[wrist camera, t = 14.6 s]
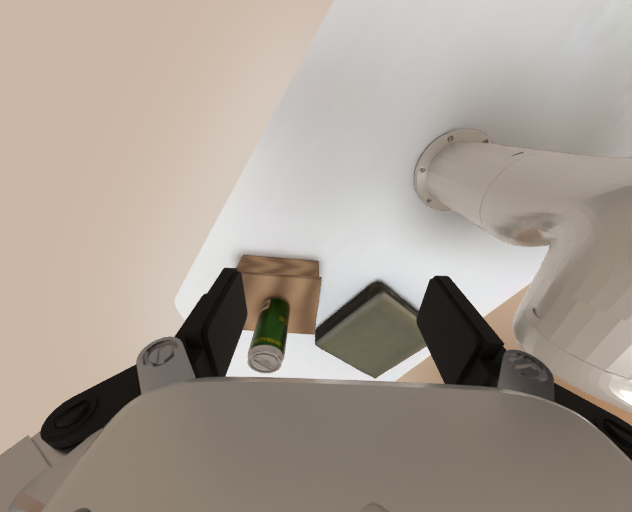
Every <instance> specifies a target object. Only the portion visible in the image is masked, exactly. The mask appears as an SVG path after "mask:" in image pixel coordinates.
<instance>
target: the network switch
mask: <svg viewBox="0 0 632 512" xmlns="http://www.w3.org/2000/svg"><path fill="white" fill-rule="evenodd" d="M418 313H419V312H417V311H416V310H415V309H414V308H412V307H411V306H410V305H409V304H407V303H406V302H405V301H404V300H402V299H401V298H400V297H399V296H397V295H396V294H395V293H393V292H392V291H391V290H390V289H389V288H388V287H387V286H385V285H383V284H382V283H380V284H373V285H372V286H371V287H370V288H368V289H366V290H365V291H364V292H363V293H361V294H360V295H359V296H358V297H356V298H355V299H354V300H353V301H352V302H350V303H349V304H348V305H347V306H346V307H344V308H343V309H342V310H340V311H339V312H338V313H337V314H335V315H334V316H333V317H332V318H330V319H329V320H328V321H326V322H325V323H324V324H322V325H321V326H320V327H319V328H318V329H317V330H316V331H315V345H316V346H318V347H319V348H321V349H322V350H324V351H326V352H328V353H330V354H332V355H333V356H335V357H337V358H339V359H341V360H342V361H344V362H345V363H347V364H349V365H351V366H353V367H355V368H356V369H358V370H360V371H362V372H364V373H365V374H368V375H370V376H372V377H373V378H377V377H378V376H380V375H381V374H383V373H384V372H386V371H388V370H389V369H391V368H392V367H394V366H396V365H397V364H399V363H401V362H402V361H404V360H405V359H407V358H409V357H410V356H412V355H413V354H415V353H417V352H418V351H420V350H421V349H423V348H424V347H426V346H427V345H426V343H425V341H424V339H423V336H422V334H421V332H420V330H419V328H418V326H417V322H416V319H417V315H418Z"/></svg>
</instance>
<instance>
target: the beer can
mask: <svg viewBox="0 0 632 512" xmlns="http://www.w3.org/2000/svg"><path fill="white" fill-rule="evenodd" d="M289 315H290V306H289V304H288V302H287V301H286V300H285V299H283V298H281V297H277V296H275V297H270V298H268V299H267V300H265V301H264V302H263V304H262V306H261V310H260V313H259V317H258V320H257V324H256V327H255V331H254V334H253V338H252V341H251V344H250V348H249V351H248V365H249V366H250V368H251V369H253V370H255V371H257V372H260V373H272V372H275V371H277V370H279V368H280V367H281V364H282V362H283V360H284V354H285V346H286V338H287V330H288V323H289Z"/></svg>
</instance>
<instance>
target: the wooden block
mask: <svg viewBox="0 0 632 512" xmlns="http://www.w3.org/2000/svg"><path fill="white" fill-rule="evenodd" d="M236 269H237V270H238V271H240V272H241V274H242V280H243V286H244V292H245V299H246V305H247V312H248V315H247V320H246V322H245V325H244V328H243V330H251V331H255V327H256V324H257V320H258V317H259V313H260V310H261V306H262V304H263V302H264V301H265V300H267V299H268V298H270V297H275V296H277V297H281V298H283V299H285V300H286V301H287V302H288V304H289V306H290V315H289V323H288V330H287V333H299V334H314V332H315V325H316V317H317V310H318V302H319V295H320V287H321V277H319V263H318V261H311V260H299V259H286V258H274V257H261V256H248V255H243V256H242V258H241V260H240V262H239V264H238V266H237V267H236Z"/></svg>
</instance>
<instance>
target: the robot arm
mask: <svg viewBox="0 0 632 512" xmlns="http://www.w3.org/2000/svg"><path fill="white" fill-rule="evenodd" d="M448 137H449V139H448ZM482 142H483V143H482ZM421 168H422V170H420V169H421ZM414 186H415V191H416V193H417V195H418V197H419V198H420V200H421V201H422V202H423V203H425V204H426V205H427V206H429V207H431V208H433V209H437V210H453V211H455V212H456V213H458V214H460V215H461V216H463V217H464V218H466V219H467V220H469V221H470V222H472V223H474V224H475V225H477V226H478V227H480V228H481V229H483V230H484V231H486V232H488V233H489V234H491V235H493V236H494V237H496V238H497V239H499V240H501V241H503V242H506V243H508V244H511V245H516V246H523V247H535V246H546V245H550V247H549V250H548V252H547V254H546V256H545V258H544V260H543V262H542V264H541V267H540V269H539V271H538V273H537V274H536V276H535V278H534V280H533V281H532V283H531V285H530V287H529V288H528V290H527V292H526V294H525V296H524V297H523V299H522V301H521V303H520V305H519V307H518V309H517V311H516V313H515V316H514V319H513V326H512V328H513V334H514V337H515V339H516V341H517V343H518V345H519V346H520V347H521V349H522V350H523V351H524V352H523V351H519V350H507V351H506V349H505V348H504V347H503V345H504V343H503V342H502V340H501V339H500V338H499V337H498V335H497V334H496V333H495V332H494V331H493V329H492V328H491V327H490V326H489V325H488V323H487V322H486V321H485V320H484V319H483V317H482V316H481V315H480V314H479V312H478V311H477V310H476V309H475V308H474V306H473V305H472V304H471V303H470V302H469V300H468V299H467V298H466V297H465V295H464V294H463V293H462V292H461V291H460V289H459V288H458V287H457V286H456V285H455V283H454V282H453V281H452V280H451V279H450V277H448V276H435V277H434V278H433V279H430V281H429V284H428V287H427V290H426V292H425V295H424V298H423V301H422V304H421V307H420V310H419V313H418V315H417V319H416V322H417V326H418V328H419V330H420V332H421V334H422V336H423V339H424V341H425V343H426V345H427V347H428V349H429V351H430V353H431V356H432V358H433V360H434V362H435V364H436V366H437V368H438V370H439V372H440V374H441V377H442V379H443V381H444V383H445V384H433V383H408V382H407V383H406V382H386V381H359V380H332V379H302V378H271V377H225V375H226V373H227V370H228V367H229V365H230V362H231V359H232V357H233V354H234V351H235V349H236V346H237V343H238V341H239V338H240V335H241V333H242V330H243V328H244V325H245V322H246V320H247V315H248V312H247V305H246V299H245V292H244V286H243V280H242V274H241V272H240V271H238V270H237V269H236V268H224V269H223V270H222V272H221V273H220V275H219V276H218V278H217V279H216V281H215V282H214V284H213V285H212V287H211V289H210V290H209V292H208V293H207V294H204V295H203V296H202V297H201V299H200V300H199V302H198V303H197V305H196V306H195V308H194V309H193V310H192V312H191V313H190V315H189V316H188V318H187V319H186V321H185V323H184V324H183V325H182V327H181V328H180V330H179V331H178V333H177V334H176V335H175V337H165V338H161V339H158V340H156V341H154V342H152V343H150V344H149V345H147V346H146V347H145V348H144V349H143V350H142V351H141V352H140V354H139V355H138V357H137V363H136V365H134V366H132V367H130V368H128V369H126V370H124V371H123V372H121V373H119V374H117V375H115V376H113V377H111V378H109V379H107V380H105V381H103V382H101V383H100V384H97V385H96V386H93V387H92V388H90V389H88V390H86V391H84V392H82V393H80V394H78V395H76V396H74V397H72V398H71V399H69V400H67V401H66V402H64V403H63V404H61V405H60V406H59V407H58V408H56V409H55V410H54V411H53V412H52V413H51V414H50V415H49V416H48V418H47V419H46V421H45V422H44V424H43V426H42V428H41V431H40V432H39V433H37V434H36V435H35V436H33V437H32V438H31V437H30V436H26V437H25V438H24V439H22V440H21V441H19V442H18V443H16V444H15V445H14V446H12V447H11V448H9V449H8V450H7V451H5V452H4V453H2V454H1V455H0V512H632V426H631V425H629V424H628V423H626V422H625V421H623V420H621V419H620V418H618V417H616V416H615V415H613V414H611V413H609V412H607V411H605V410H603V409H602V408H600V407H598V406H596V405H594V404H592V403H591V402H589V401H587V400H585V399H583V398H581V397H579V396H578V395H576V394H574V393H572V392H570V391H568V390H566V389H565V388H563V387H561V386H559V385H557V384H556V383H554V378H553V375H554V376H556V377H557V378H559V379H561V380H563V381H564V382H566V383H568V384H570V385H572V386H574V387H576V388H577V389H579V390H582V391H584V392H586V393H588V394H590V395H592V396H594V397H596V398H598V399H601V400H603V401H605V402H607V403H610V404H612V405H614V406H616V407H619V408H621V409H623V410H625V411H628V412H630V413H632V157H603V156H589V155H579V154H570V153H561V152H553V151H545V150H537V149H529V148H521V147H513V146H505V145H497V144H493V142H492V141H491V139H490V138H489V137H488V136H487V135H486V134H484V133H482V132H480V131H477V130H473V129H460V130H455V131H451V132H448V133H446V134H444V135H443V136H441V137H439V138H438V139H437V140H435V141H434V142H433V143H432V144H431V145H430V146H429V147H428V148H427V149H426V150H425V152H424V153H423V154H422V156H421V158H420V160H419V161H418V164H417V167H416V169H415V175H414ZM427 199H428V200H427Z"/></svg>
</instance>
